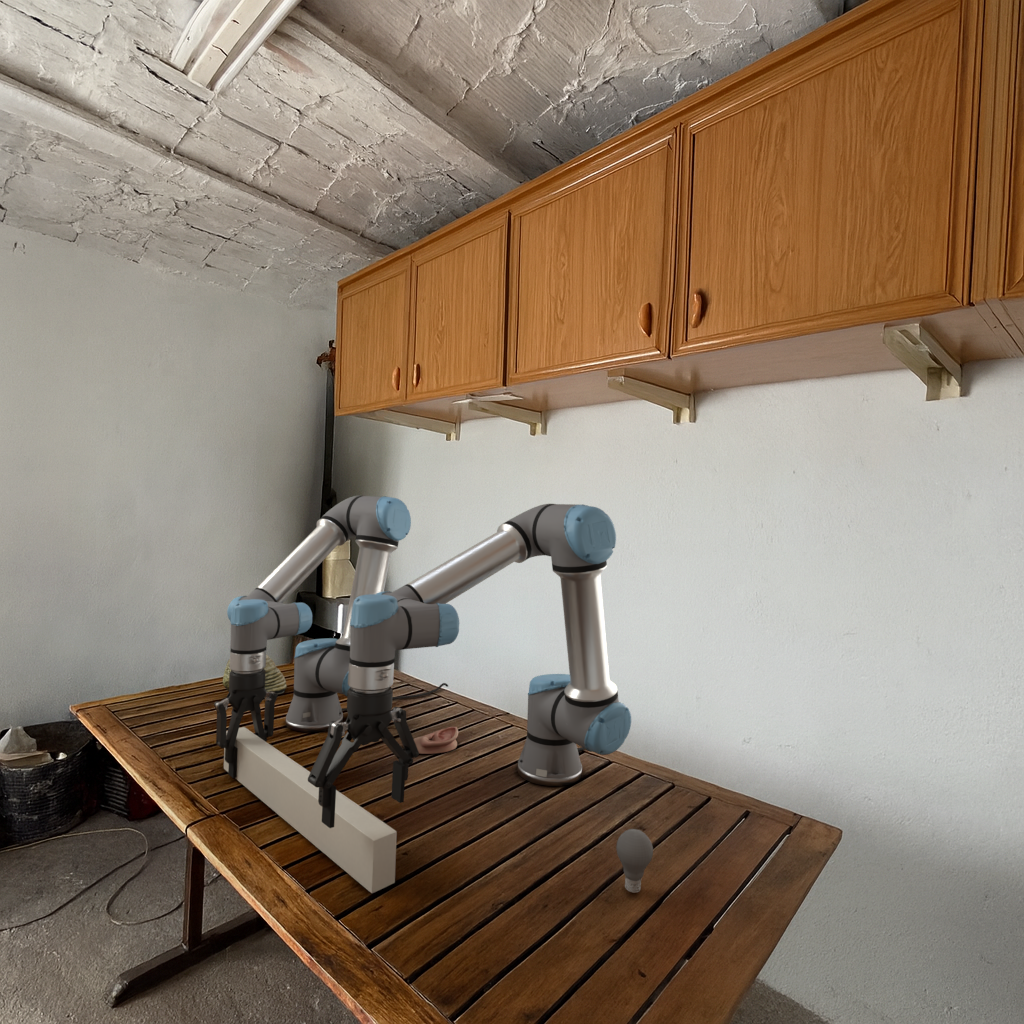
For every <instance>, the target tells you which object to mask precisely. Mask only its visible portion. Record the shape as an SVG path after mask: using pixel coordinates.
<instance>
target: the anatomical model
mask: <svg viewBox="0 0 1024 1024" xmlns="http://www.w3.org/2000/svg"><path fill="white" fill-rule="evenodd" d="M458 737H459V729H458V727H457V726H449V727H445V728H442V729H438V730H436V731H433V732H430V733H427V734H425V735H421V736H417V737H413V739H414V741H415V744H416V746H417V749H418V751H419V754H420V755H430V754H431V755H433V754H440V753H441V754H443V753H446V752H450V751H453V750H455V749H456V748H457V747H458V741H457V738H458Z"/></svg>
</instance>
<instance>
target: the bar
mask: <svg viewBox="0 0 1024 1024" xmlns="http://www.w3.org/2000/svg"><path fill="white" fill-rule="evenodd" d="M227 732H228V730H226V736H227ZM234 746H235V747H237V748H238V753H237V777H236V778H234V779H235V780H236V781H238V782H239V783H240V784H241V785H242V786H243V787H245V789H247V790H248V791H249V792H251V794H253V795H254V796H255V797H257V798H258V799H259V800H260V801H261V802H263V803H264V804H265V805H266V806H267V807H268V808H270V809H271V810H272V811H273V812H275V814H277V815H278V816H279V817H280V818H281V819H283V820H284V821H285V822H286V823H287V824H288V825H290V827H292V828H293V829H295V830H296V831H297V833H299V834H301V835H302V836H303V837H304V838H305V839H306V840H307V841H309V842H310V843H311V844H312V845H313V846H315V848H317V849H318V850H319V851H321V852H322V853H323V854H324V855H325V856H327V857H328V858H329V859H330V860H331V861H333V863H334V864H336V865H337V866H338V867H340V869H342V870H343V871H344V872H345V873H347V874H348V875H349V876H350V877H351V878H353V879H354V880H355V881H356V882H357V883H359V884H360V885H361V886H362V887H363V888H364V889H366V890H367V891H368V892H369V893H371V894H374V893H376V892H378V891H379V892H380V891H381V890H382V889H385V888H387V887H389V886H391V885H393V884H395V883H396V864H397V863H396V859H397V838H398V837H397V835H398V833H397V832H398V831H397V830H396V829H394V828H393V827H391V826H390V825H388V824H387V823H386V822H384V821H382V820H381V819H380V818H378V817H377V816H375V815H373V814H372V813H371V812H369V811H368V810H366V809H365V808H363V807H362V806H361V805H359V804H357V803H356V802H354V800H352V799H350V798H349V797H347V796H346V795H344V794H343V793H342V792H340V791H338V790H337V789H336V802H335V821H334V827H333V828H329V827H327V826H326V825H325V824H324V823H322V806H320V805H319V802H318V799H319V787H318V788H317V787H315V786H314V785H312V784H311V783H310V782H308V777H309V775H310V773H311V771H310V770H308V769H307V768H305V767H304V766H302V765H301V764H299V763H298V762H296V761H294V760H293V759H292V758H290V757H289V756H287V755H286V754H284V753H283V752H281V751H280V750H278V749H277V748H276V747H274V746H273V745H272V744H269V743H268V741H266V742H265V741H264V740H263V739H261V738H260V737H258V736H257V735H255V732H252V731H251V730H249V729H248V728H247V727H246V726H242V727H239V730H238V733H237V737H236V741H235V745H234ZM223 749H224V750H223V770H224V771H226V772H227V773H228V770H229V763H227V762H226V761H225V748H223Z"/></svg>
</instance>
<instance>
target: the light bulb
mask: <svg viewBox="0 0 1024 1024" xmlns="http://www.w3.org/2000/svg"><path fill="white" fill-rule="evenodd" d="M615 849H616V854H617V857H618V859H619V861H620V863H621V865H622V867H623V873H624V874H623V875H624V876H625V878H624V888H625V890H627V891H628V892H630V893H634V894H635V893H639V892H640V891H641V889H642V887H641V886H642V879H643V877H644V875H645V871H646V868H647V867H648V866H649V864H650V863H651V861H652V859H653V855H654V847H653V843H652V841H651V838H649V836H648V835H647V834H646V833H645V832H643V831H642V830H641V829H636V828H629V829H627V830H625V831H623V832H622V833H621V834H620V835H619V837H618V839H617V841H616V847H615Z"/></svg>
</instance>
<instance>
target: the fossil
mask: <svg viewBox="0 0 1024 1024" xmlns="http://www.w3.org/2000/svg"><path fill="white" fill-rule="evenodd" d="M263 669H265V671H266V674H265V689H266V691H268V692H270V691H272V692H274V693H276V694H277V695H281V694H284V693H285V691H286V689H287V687H288V686H287V680H286V678H285V676H284V674H283V673H282V672H281V669H279V668H278V667H277V665H276V663H275V662H274V660H273V659H272V658H271V657H270V656H269V655H268V654H267V653H266V666H265V668H263ZM231 671H232V670H231V669H230V658H229V659H228V660H227V663H226V666H225V668H224V671H223V675H222V676H223V677H222V685H223V687H224V688H225V690H226V691H228V692H229V673H230V672H231Z"/></svg>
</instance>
